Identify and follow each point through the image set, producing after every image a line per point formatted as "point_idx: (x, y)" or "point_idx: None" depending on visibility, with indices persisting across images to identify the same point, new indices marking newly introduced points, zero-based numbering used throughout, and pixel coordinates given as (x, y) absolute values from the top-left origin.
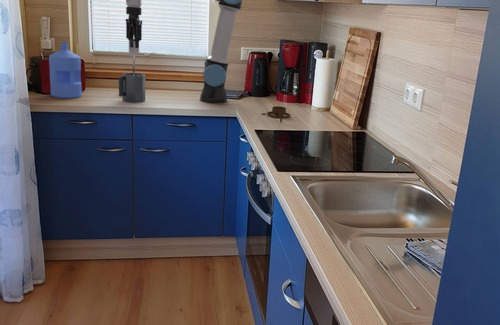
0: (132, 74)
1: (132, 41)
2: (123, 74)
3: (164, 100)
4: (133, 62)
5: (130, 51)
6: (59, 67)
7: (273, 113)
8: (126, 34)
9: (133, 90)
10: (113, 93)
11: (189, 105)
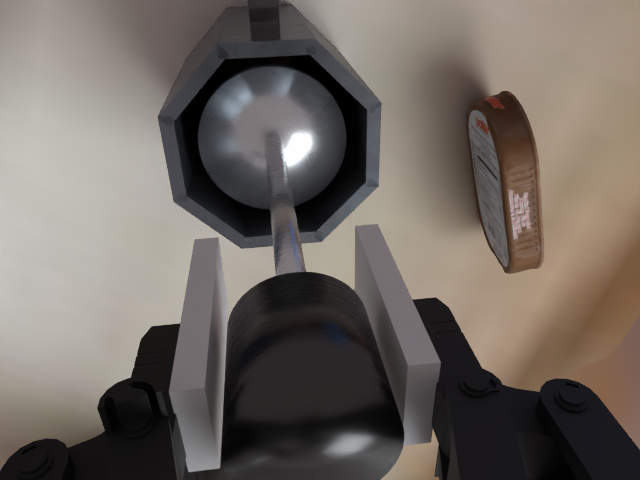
0: (362, 171)
1: (244, 372)
2: (283, 40)
3: (230, 270)
4: (274, 200)
5: (359, 255)
6: None
7: None
8: (628, 452)
9: (182, 71)
10: (565, 62)
11: (55, 334)
